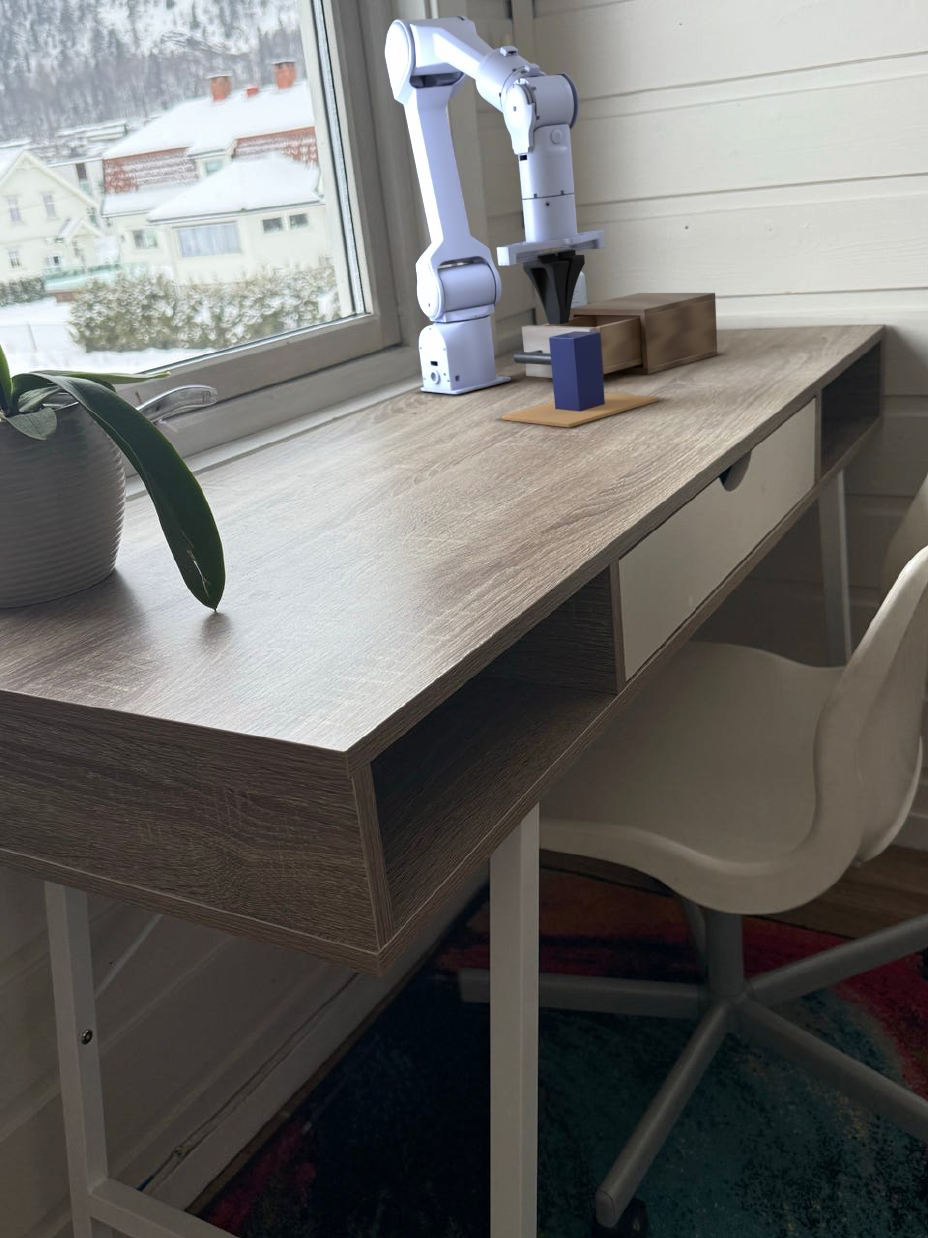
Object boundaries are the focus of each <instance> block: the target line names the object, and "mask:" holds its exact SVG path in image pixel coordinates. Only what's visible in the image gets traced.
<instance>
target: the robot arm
mask: <svg viewBox="0 0 928 1238" xmlns="http://www.w3.org/2000/svg"><path fill="white" fill-rule="evenodd" d="M385 41H386V42H385V46H384V57H385V62H386V66H387V72H388V76H389V81H390V87H391V89H392V94H393V98H394V100H395V101H397V102H399V103H400V104H402V105H403V107H404V112H405V113H404V114H405V118H406V122H407V128H408V132H409V138H410V143H411V147H412V153H413V157H414V158H413V159H414V162H415V166H416V173H417V177H418V181H419V186H420V187H419V188H420V192H421V196H422V201H423V206H424V212H425V216H426V221H427V227H428V231H429V236H430V241H431V243H430V245H429V246H428V247H427V249H426V250H425V251H424V252H423V254H421V255H420V256H419V259H418V260H417V262H416V263H415V270H416V271H415V272H416V279H417V284H416V292H417V293H416V294H417V300H418V305H419V306H420V309H421V310H422V312H423V313H424V314H425V315H426V317H427V318H428V319H429V321H430V322H434V323H433V324H430V325H427V326H426V327H424V328H423V329H422V330H421V331H420V334H419V337H418V351H419V358H420V368H421V374H422V381H423V382H422V383H423V386H421V387H420V391H421V392H429V393H437V394H438V393H440V394H448V395H461V394H464V393H469V392H472V391H476V390H480V389H484V388H487V387H491V386H496V385H499V384H503V383H506V382H511V381H512V379H511V377H510V376H501V375H500V376H499V375H497V371H496V361H495V351H494V341H493V333H492V323H491V315H494V314H495V309H496V308H497V306H498V305H499V302H500V299H501V297H502V280H501V275H500V273H499V271H498V269H497V268H496V265H495V262H494V260H493V257H492V252H491V249H490V248H489V247H488V246H486V245H485V244H484V243H482V242H481V241H479V240H477V239H476V238H475V237H473V236H472V235H471V231H470V226H469V221H468V216H467V210H466V206H465V200H464V195H463V190H462V185H461V180H460V175H459V170H458V164H457V160H456V155H455V150H454V145H453V139H452V135H451V129H450V123H449V118H448V114H447V106H448V103H449V101H450V100H451V99H453V98H455V97H456V96H457V95H459V94H460V92H461V90H462V88H463V86H464V84H465V82H466V80H467V79H468V76H469V77H471V78H472V79H473V80H475V85H476V89H477V91H478V94H479V95H480V97H482V99H484V100H485V101H487V102H488V103H489V104H490V105H491V106H493V107H495V108H496V109H497V110H498V111H499V112H501V113H503V118H504V123H505V126H506V128H507V131H508V133H509V134H510V139H511V146H512V150H513V153H514V154H515V155H517V157H518V166H519V179H520V189H521V199H522V200H521V201H522V212H523V223H524V232H525V241H521V242H517V243H512V244H508V245H503V246H502V245H501V246H497V247H496V254H497V263H498V267H501V266H502V267H503V266H507V267H509V266H515V265H517V264H520V263H521V264H522V269H523V271H524V273H525V274H526V275H527V277H528V279H529V280H530V282H531V283H532V285H533V287H534V288H535V291H536V293H537V296H538V297H539V300H540V303H541V305H542V308H543V310H544V311H543V312H545V317H546V320H547V324H548V323H549V324H564V323H569V317H570V310H571V304H572V299H573V294H574V290H575V286H576V283H577V280H578V277H579V275H580V272H581V271H582V270H583V268H584V266H585V264H586V260H585V255H584V254H577V253H582V252H586V251H591V250H600V249H605V248H606V239H605V230H602V229H601V230H592V231H591V230H590V231H584V232H578V224H577V223H578V222H577V208H576V197H575V196H576V195H575V183H574V182H575V181H574V168H573V156H572V143H571V140H572V139H571V130H572V129H573V128H574V127H575V125H576V123H577V121H578V118H579V112H580V97H579V92H578V89H577V86H576V84H575V82H574V81H573V79H572V77H570V76H569V75H568V74H567V72H557V73H554V74H553V75H548V74H546V72H544V71H542V70H541V68H540V66H539V65H538V64H537V63H534V62H533V63H532V62H531V63H530V62H529V61H528V60H527V59H525V58H523V56H521V55H519V49H518V48H517V47H516V46H514V45H504V46H503V45H502V46H501V47H499V48H498V47H497V48H495V49H493V48H492V47H491V45H489V44H488V43H487V42H485V41H484V39H482V38H481V37H480V36H479V35H478V33H477V29H476V25H475V22H474V21H473V20H470V19H469V18H468V17H467V16H465V15H456V16H453V17H439V18H425V19H424V18H423V19H419V18H418V19H402V18H396V19H395V20H394V21H392V23H391V24H390V26H389V29H388V31H387V34H386V39H385ZM555 248H560V250H559V249H558V250H554V251H548V252H546V250H551V249H555ZM455 264H458V265H455ZM449 265H451V266H449ZM443 266H445V267H443Z"/></svg>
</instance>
